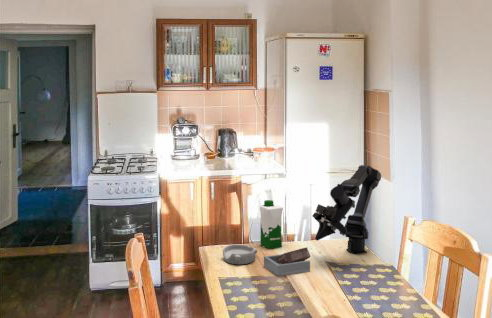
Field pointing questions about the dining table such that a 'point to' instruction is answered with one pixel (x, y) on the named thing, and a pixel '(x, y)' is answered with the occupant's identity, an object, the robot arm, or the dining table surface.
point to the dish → (239, 254)
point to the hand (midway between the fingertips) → (316, 239)
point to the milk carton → (271, 225)
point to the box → (294, 256)
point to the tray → (285, 266)
